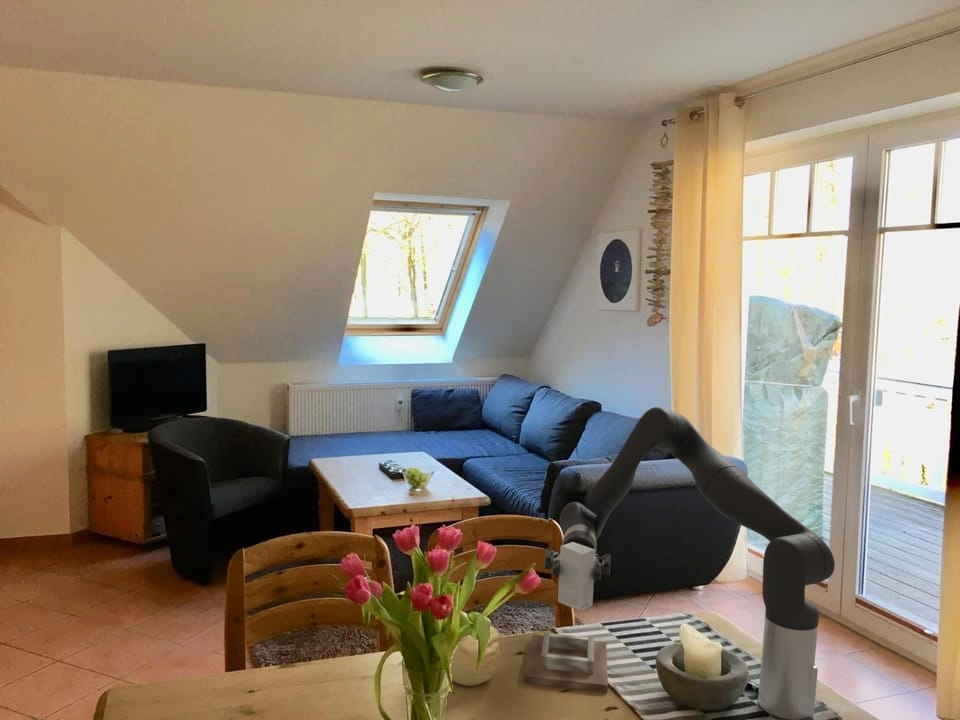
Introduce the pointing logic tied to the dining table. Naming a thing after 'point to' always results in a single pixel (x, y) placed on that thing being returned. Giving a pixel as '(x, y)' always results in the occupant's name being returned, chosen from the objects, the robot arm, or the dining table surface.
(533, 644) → the walnut stand
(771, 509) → the robot arm
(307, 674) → the dining table surface
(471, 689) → the dining table surface
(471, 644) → the sculpture
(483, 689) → the dining table surface
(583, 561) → the skincare box
